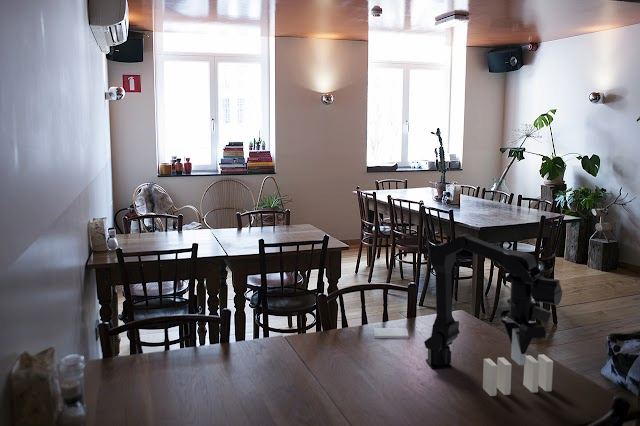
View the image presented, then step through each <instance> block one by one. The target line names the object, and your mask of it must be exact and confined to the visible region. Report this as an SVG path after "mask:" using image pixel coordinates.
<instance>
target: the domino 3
mask: <svg viewBox="0 0 640 426" xmlns="http://www.w3.org/2000/svg"><path fill="white" fill-rule="evenodd" d="M515 332H519V328H515V329H512V345H511V353H510V358H511V360H513V361H514V362H515V363H516V364H517V365H518V366H524V365H526V356H527V352H526V353H525V354H521V352H520V349H519V345H518V341H517V337H516V333H515Z"/></svg>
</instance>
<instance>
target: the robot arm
mask: <svg viewBox="0 0 640 426" xmlns="http://www.w3.org/2000/svg"><path fill="white" fill-rule="evenodd" d="M463 250H464V251H467V252H469V253H473V254H475V255H477V256H479V257H481V258H484V259H487V260H489V261H492V262H494V263H497V264H498V265H500V266H501V267H502V268H503V269H504V270H505V271H507V272H509V273H508V274H507V275H506V276H505V277H503V279H502V280H503V281H505V282H510V293H509V294H510V295H509V298H507V299H506V300H507V301H506V303H507V304H509V305H508V306H498V307H497V308H496V309H495V317H496V318H497V319H500V323H501V324H502V327H503V329H504V331H505V334H506V335H507V337H508V340H509V342H510V344H511V346H512V329H515V328H519V332H515V333H516V337H517V341H518V345H519V349H520V352H521V354H525V353H526V354H527V351H528V349H529V346H530V344H531V342H532V340H533V339H541V338H547V333H548V331H547V330H548V329H546V328H545V326H543V325H541V324H540V323H539V322H536V321H540V322H543V323H545V324H548V323H549V321H550V318H551V315H552V312H551V311H549V310H548V309H547V308H546V309H545V308H544V307H542V306H541V303H543V304H548V305H554V306H559V305H560V303H561V300H562V298H563V297H562V296H563V290H562V286H561V284H560V280H559V279H556V278H554V279H553V278H552V279H551V278H546V277H544V276H545V275H544V274H543V273H542V270H541V269H540V268H539V266H538V265H537V259H536V258H535V256H534V255H533V254H531V253H530V252H526V251H522V250H513V249H512V250H511V249H507V248H506V249H505V248H503V247H500V246H498V245H496V244H493V243H490V242H487V241H484V240H482V239H479V238H477V237H475V236H472V235H471V234H468V233H464V234H460V235H459V236H457V237H456V238H453V239H452V240H449V241H445V242H441V243H439V244H435V245H433V246H432V247H431V248H430V249H429V252H428V255H429V260H430V261H429V262H430V265H431V268H432V269H433V270H434V272H435V273H434V274H435V305H436V306H435V308H436V312H435V314H436V316H435V319H434V322H433V324H432V326H431V327H432V328H431V335H430V336H429V337H428V338H427V339H425V341H424V342H423V344H424V347H425V349H427V358H426V359H425V363H427V364H428V366H429V367H430V368H431V369H432V370H436V369H437V370H438V369H449V368H450V369H451V368H452V365H451V364H452V351H451V347H450V345H452V344H453V343H454V341H455V340H456V339H458V335H459V334H460V333H461V332H460V329H459V327H460V321H459V320H455V318H454V316H453V308H452V307H453V305H452V304H453V303H452V301H453V300H452V298H453V295H452V270H453V267H454V266H455V262H456V255H457V254H458V253H459V252H461V251H463ZM501 319H503V320H501Z"/></svg>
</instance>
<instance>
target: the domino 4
mask: <svg viewBox="0 0 640 426" xmlns="http://www.w3.org/2000/svg"><path fill="white" fill-rule="evenodd" d="M538 380H539V362H538V359H536V358H534V357H533V356H532V355H526V365H523V383H522V384H523V386H524V387H525V388H526V389H527V390H528V391H530V393H538V392H539V385H538Z"/></svg>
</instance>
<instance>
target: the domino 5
mask: <svg viewBox="0 0 640 426" xmlns="http://www.w3.org/2000/svg"><path fill="white" fill-rule="evenodd" d="M537 361H538V362H539V380H538V387H540V388H541V389H543V390H544V391H545V392H552V391H553V390H552V389H553V371H554V370H553V369H554V361H553V360H552V359H551V358H549V357H548V356H547V355H546V354H537Z"/></svg>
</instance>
